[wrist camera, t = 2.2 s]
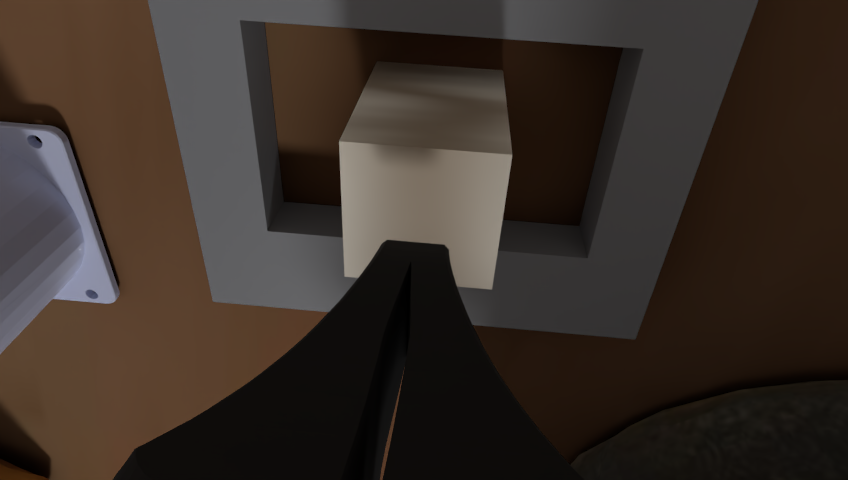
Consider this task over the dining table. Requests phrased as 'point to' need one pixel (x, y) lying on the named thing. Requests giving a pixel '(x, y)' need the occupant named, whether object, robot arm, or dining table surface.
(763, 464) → the vessel
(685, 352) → the dining table surface
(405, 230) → the cream block
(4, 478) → the coffee package
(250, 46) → the holder plate
